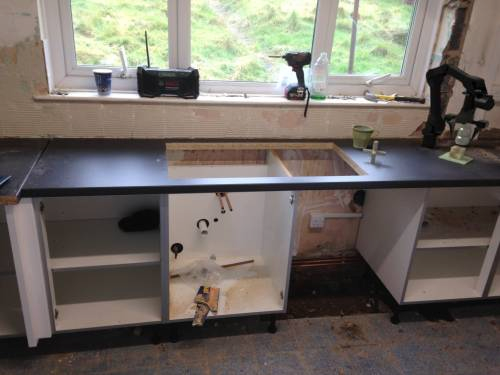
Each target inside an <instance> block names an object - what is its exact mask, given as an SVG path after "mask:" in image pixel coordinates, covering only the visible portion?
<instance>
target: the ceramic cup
mask: <svg viewBox="0 0 500 375" xmlns="http://www.w3.org/2000/svg"><path fill="white" fill-rule="evenodd" d="M375 132H377V134H376V135H375V136H373V137H372V135H373V134H374V133H375ZM379 135H380V132H379V130H377V129H374V127H372V126H369V125H366V124H355V125H353V126H352V137H353V139H352V141H353V148H355V149H360V150H363V149H368V144H369V142H371V140H373V139H374V138H376V137H377V136H379ZM371 137H372V138H371Z"/></svg>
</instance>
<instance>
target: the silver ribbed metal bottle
mask: <svg viewBox="0 0 500 375" xmlns="http://www.w3.org/2000/svg"><path fill="white" fill-rule="evenodd" d="M473 120H475V121H476V117H475V115H474V119H473ZM472 126H473V124H469V123H467V124H465V125H462V124H460V123H459V129H458V132H457V134H456V136H455V139H454V140H455V141H454V142H455V144H456V145H458V146H467V145H468V144H469V143H470V137H471V136H470V135H471V130H472V128H473V127H472Z"/></svg>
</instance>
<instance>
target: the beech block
mask: <svg viewBox="0 0 500 375" xmlns="http://www.w3.org/2000/svg"><path fill="white" fill-rule="evenodd" d="M449 152H450V155H449V158H453V159H457V160H461V159H462V158H463V157H464V156H465V154H466V147H462V146H460V145H454V146H451V147H450V151H449Z"/></svg>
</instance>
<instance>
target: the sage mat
mask: <svg viewBox="0 0 500 375" xmlns="http://www.w3.org/2000/svg"><path fill="white" fill-rule="evenodd" d="M449 155H450V151H448V152H446V153H444V154H442V155H439V156H438V159H443V160H445V161H450V162H453V163H457V164H461V165H463V166H465V165H466V164H467V163H469V162H471V161H473V160H474V158H472V157H469V156H465V155H464V157H463V158H462V159H461V160H457V159H453V158H449Z"/></svg>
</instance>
